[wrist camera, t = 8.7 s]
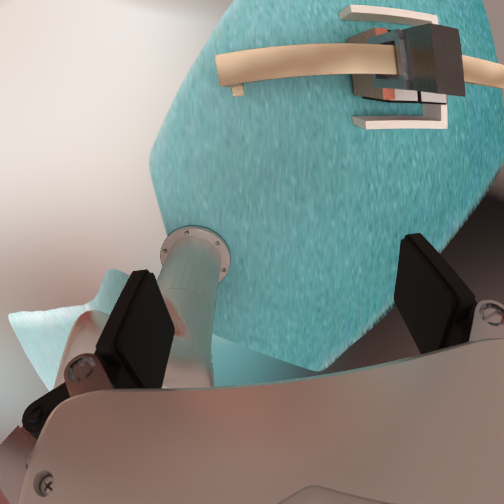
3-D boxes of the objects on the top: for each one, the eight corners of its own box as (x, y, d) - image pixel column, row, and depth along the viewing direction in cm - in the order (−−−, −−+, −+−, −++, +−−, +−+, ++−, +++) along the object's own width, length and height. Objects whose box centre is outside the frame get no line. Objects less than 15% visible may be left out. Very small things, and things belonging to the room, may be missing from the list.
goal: (428, 122, 42) (447, 128, 37) (352, 123, 43) (366, 129, 38) (418, 20, 33) (437, 15, 28) (338, 13, 34) (350, 4, 29)
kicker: (371, 94, 39) (469, 114, 19) (346, 95, 40) (433, 111, 19) (364, 39, 35) (459, 14, 14) (339, 38, 35) (421, 5, 14)
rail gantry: (438, 88, 39) (515, 102, 23) (233, 96, 41) (222, 101, 25) (435, 55, 36) (512, 56, 20) (227, 59, 38) (212, 40, 22)
